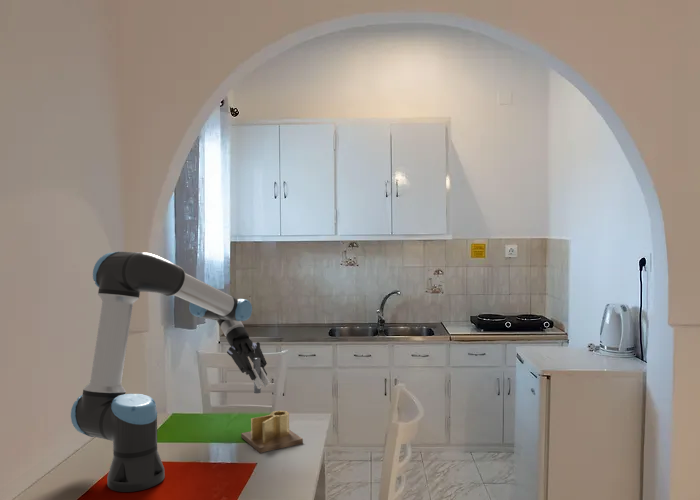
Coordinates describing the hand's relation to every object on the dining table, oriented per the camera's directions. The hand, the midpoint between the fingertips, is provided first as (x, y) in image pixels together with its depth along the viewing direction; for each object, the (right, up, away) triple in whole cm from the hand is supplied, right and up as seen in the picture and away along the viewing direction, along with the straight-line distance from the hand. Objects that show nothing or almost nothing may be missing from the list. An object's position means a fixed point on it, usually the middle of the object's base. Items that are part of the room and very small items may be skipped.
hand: (264, 385), depth 206 cm
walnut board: (+4, -16, -8) cm, 18 cm away
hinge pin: (-3, -3, +3) cm, 5 cm away
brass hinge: (+4, -15, -10) cm, 18 cm away
